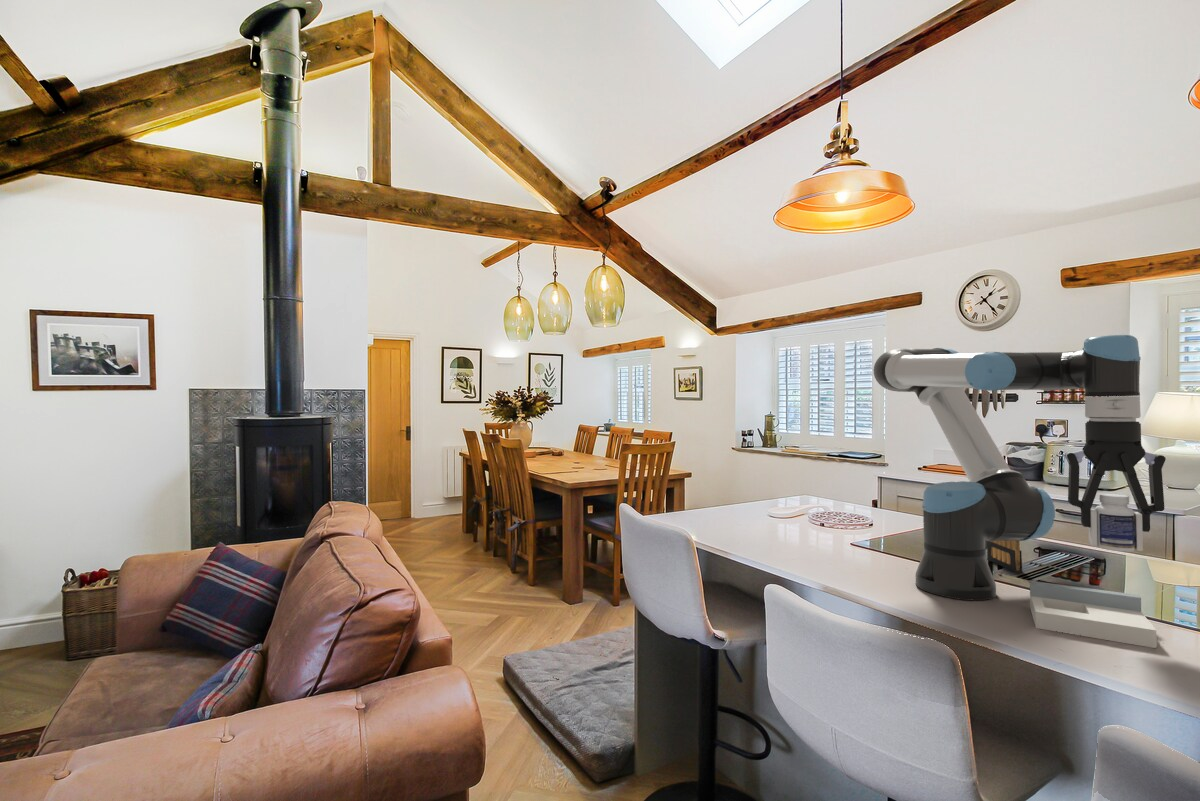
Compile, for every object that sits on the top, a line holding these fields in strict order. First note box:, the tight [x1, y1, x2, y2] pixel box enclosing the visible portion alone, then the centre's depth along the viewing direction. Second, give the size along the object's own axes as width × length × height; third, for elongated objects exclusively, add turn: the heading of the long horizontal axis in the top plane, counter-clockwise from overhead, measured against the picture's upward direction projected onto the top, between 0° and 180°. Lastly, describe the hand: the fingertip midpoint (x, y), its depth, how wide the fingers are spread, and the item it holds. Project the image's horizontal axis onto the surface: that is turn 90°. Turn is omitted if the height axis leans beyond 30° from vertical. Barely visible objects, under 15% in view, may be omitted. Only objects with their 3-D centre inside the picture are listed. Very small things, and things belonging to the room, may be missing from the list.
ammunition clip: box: [986, 540, 1023, 573], centre depth 142 cm, size 11×2×12 cm, turn 177°
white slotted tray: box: [1029, 580, 1157, 649], centre depth 103 cm, size 16×12×6 cm
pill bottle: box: [1094, 493, 1136, 552], centre depth 102 cm, size 5×5×10 cm
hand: (1115, 546), depth 102 cm, fingers closed on pill bottle, 5 cm apart
